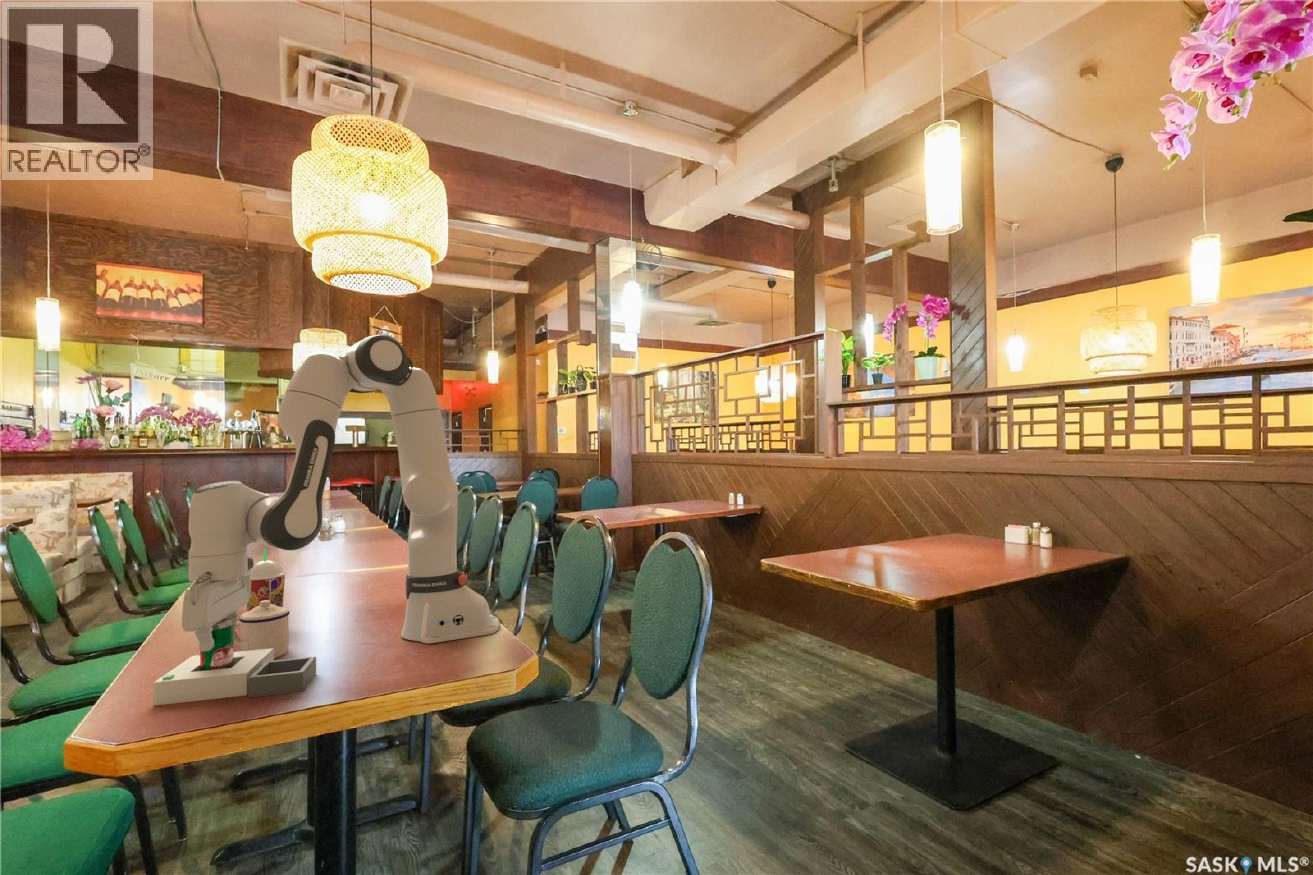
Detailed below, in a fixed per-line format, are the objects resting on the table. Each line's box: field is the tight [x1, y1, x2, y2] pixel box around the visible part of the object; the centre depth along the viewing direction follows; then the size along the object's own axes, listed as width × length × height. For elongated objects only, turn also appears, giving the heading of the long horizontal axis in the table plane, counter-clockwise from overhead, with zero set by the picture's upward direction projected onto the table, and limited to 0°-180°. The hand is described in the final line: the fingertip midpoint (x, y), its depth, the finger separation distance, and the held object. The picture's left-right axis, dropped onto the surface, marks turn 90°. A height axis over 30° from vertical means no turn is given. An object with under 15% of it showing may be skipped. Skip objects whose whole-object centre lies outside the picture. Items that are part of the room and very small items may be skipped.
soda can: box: [199, 618, 235, 671], centre depth 111 cm, size 5×5×12 cm
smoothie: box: [246, 548, 286, 612], centre depth 146 cm, size 8×8×20 cm
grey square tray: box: [248, 655, 317, 699], centre depth 111 cm, size 9×9×4 cm
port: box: [153, 648, 275, 707], centre depth 111 cm, size 14×14×4 cm
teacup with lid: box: [234, 600, 290, 659], centre depth 128 cm, size 12×9×12 cm
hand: (218, 641), depth 111 cm, fingers open, 8 cm apart
